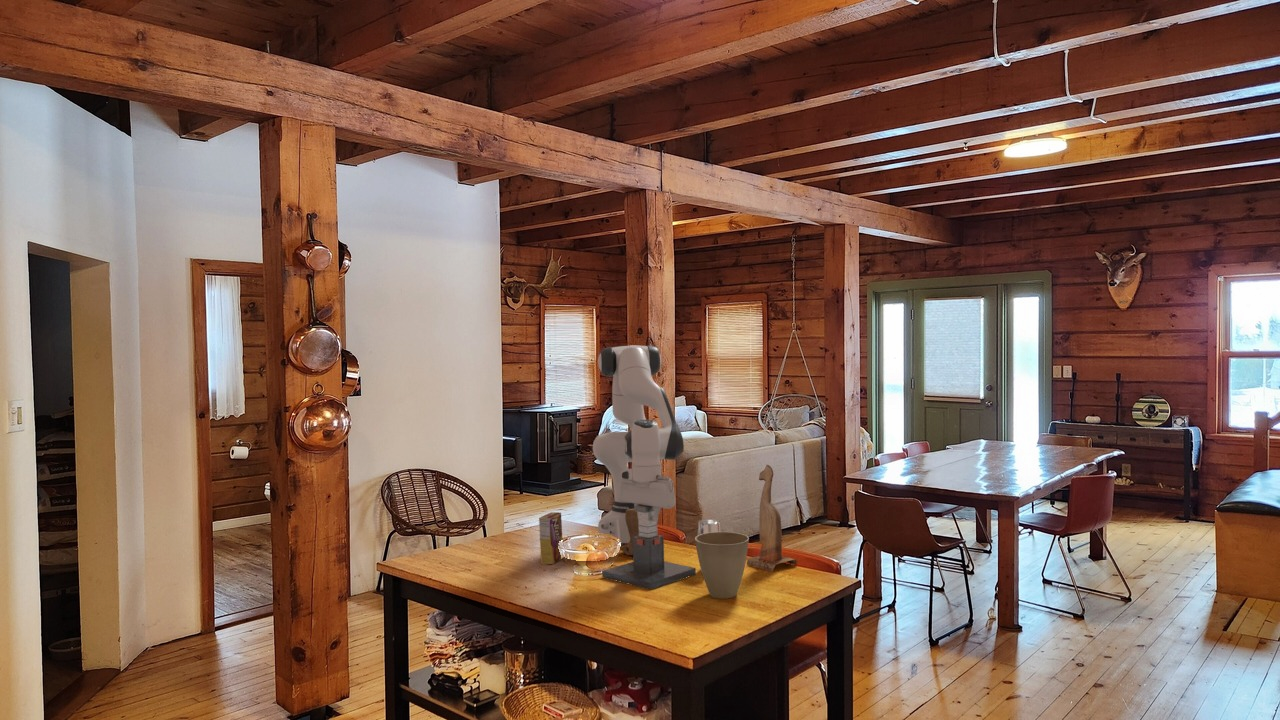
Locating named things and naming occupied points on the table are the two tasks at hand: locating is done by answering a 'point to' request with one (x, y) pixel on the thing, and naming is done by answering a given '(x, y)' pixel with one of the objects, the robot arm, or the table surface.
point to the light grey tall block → (646, 522)
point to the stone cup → (631, 530)
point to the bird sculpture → (769, 529)
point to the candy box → (550, 537)
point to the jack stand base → (648, 566)
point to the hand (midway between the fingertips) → (647, 519)
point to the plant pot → (722, 561)
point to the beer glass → (708, 526)
